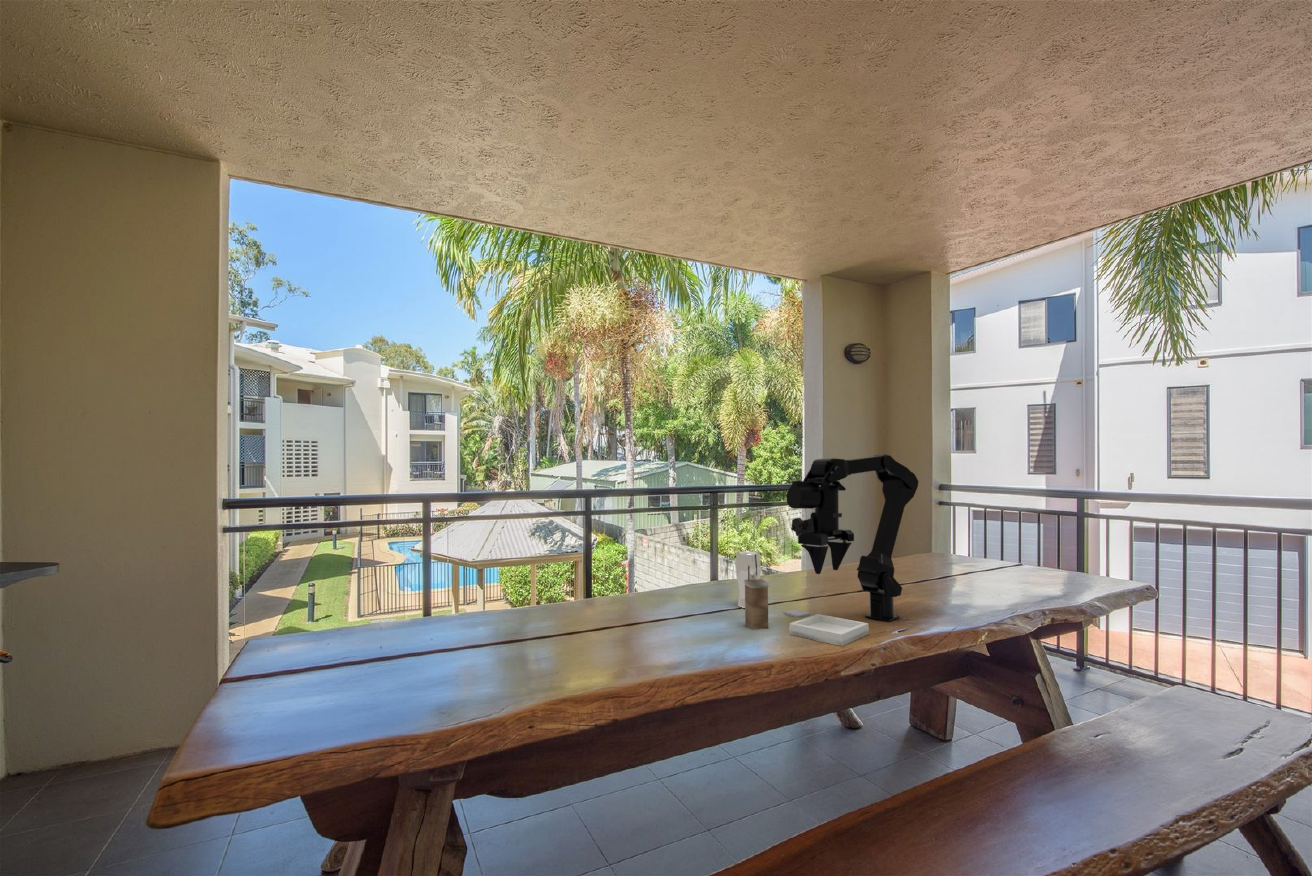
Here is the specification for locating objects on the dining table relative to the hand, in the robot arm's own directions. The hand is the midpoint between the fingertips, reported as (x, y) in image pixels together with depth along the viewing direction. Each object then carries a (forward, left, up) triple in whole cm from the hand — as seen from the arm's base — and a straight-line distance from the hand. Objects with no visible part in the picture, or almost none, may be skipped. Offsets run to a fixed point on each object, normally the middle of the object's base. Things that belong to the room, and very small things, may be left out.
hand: (826, 572), depth 142 cm
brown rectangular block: (+14, -12, -13) cm, 22 cm away
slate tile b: (-3, -11, -13) cm, 17 cm away
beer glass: (-2, -26, -13) cm, 29 cm away
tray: (+8, +4, -13) cm, 16 cm away
